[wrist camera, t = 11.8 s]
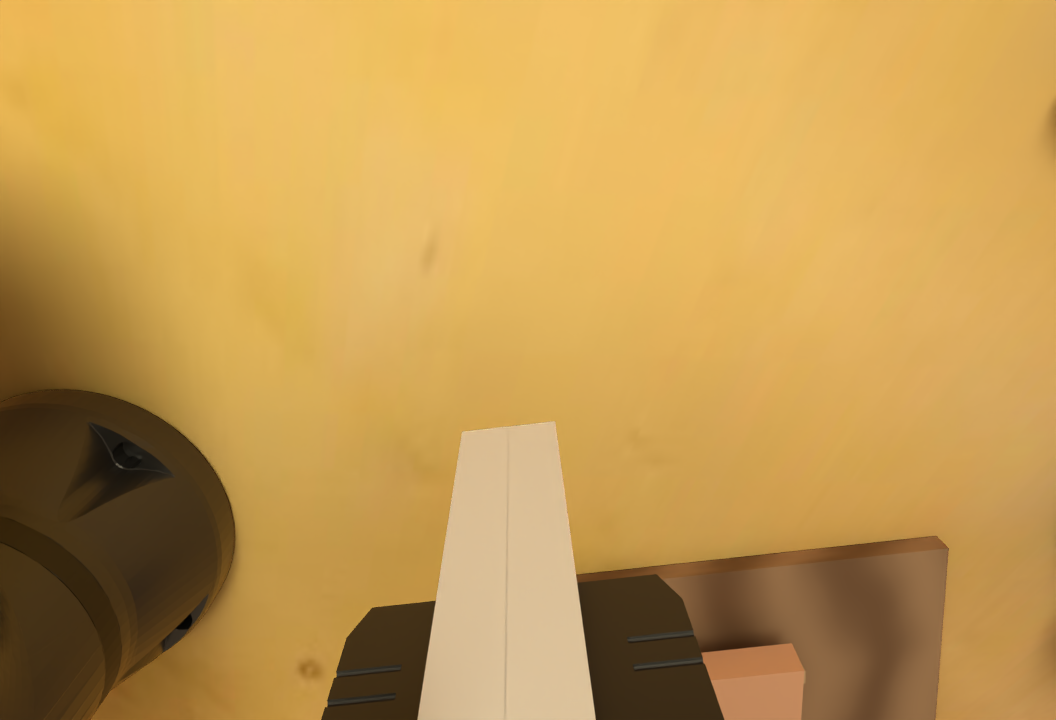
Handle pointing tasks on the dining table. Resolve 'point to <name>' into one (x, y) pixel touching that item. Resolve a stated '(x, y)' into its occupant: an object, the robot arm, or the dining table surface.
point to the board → (828, 620)
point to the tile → (757, 682)
